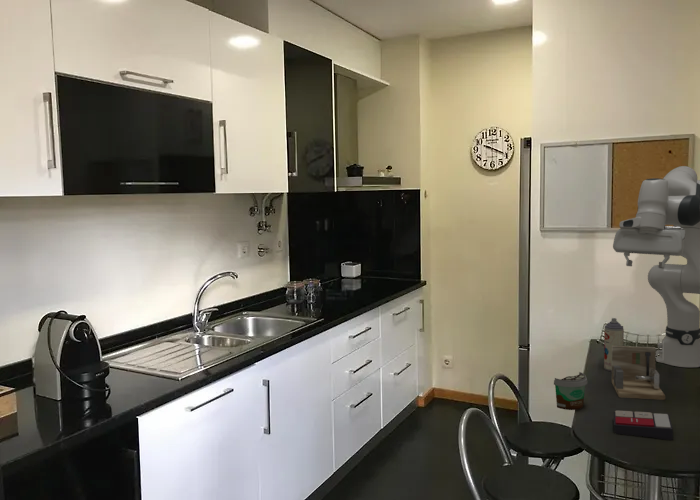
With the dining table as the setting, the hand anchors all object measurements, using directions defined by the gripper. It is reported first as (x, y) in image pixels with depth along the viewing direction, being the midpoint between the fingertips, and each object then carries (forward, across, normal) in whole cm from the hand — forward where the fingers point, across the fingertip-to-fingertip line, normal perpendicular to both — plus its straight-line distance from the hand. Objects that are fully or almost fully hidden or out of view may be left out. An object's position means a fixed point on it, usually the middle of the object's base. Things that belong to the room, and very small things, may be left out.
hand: (644, 267), depth 190 cm
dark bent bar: (+34, 0, -31) cm, 46 cm away
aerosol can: (+31, +15, -46) cm, 57 cm away
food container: (+48, +16, -1) cm, 51 cm away
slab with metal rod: (+35, +1, -27) cm, 44 cm away
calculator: (+51, -6, +6) cm, 51 cm away
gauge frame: (+38, +3, -26) cm, 46 cm away
